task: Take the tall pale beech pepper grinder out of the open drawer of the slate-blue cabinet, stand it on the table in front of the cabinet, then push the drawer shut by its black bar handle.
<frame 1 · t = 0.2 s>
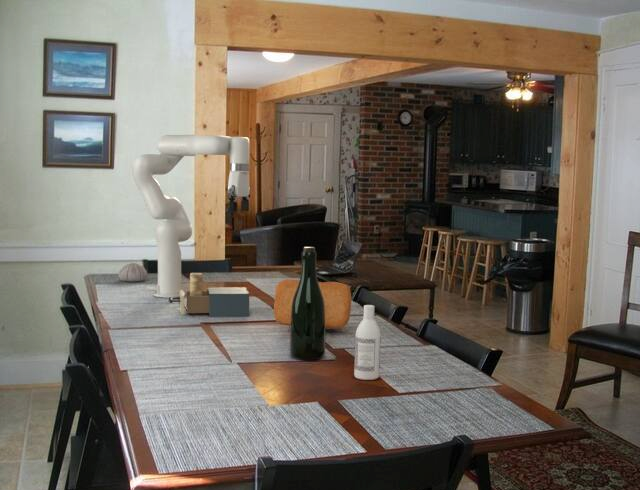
hand: (239, 211, 320), 37 cm above the table, tool pointing down, fingers open, 9 cm apart
bread: (311, 302, 270), point 11 cm above the table
green wine bottle: (307, 357, 240), on the table
grinder: (196, 307, 301), point 2 cm above the table, touching drawer
cabinet: (227, 312, 304), on the table
drawer: (193, 301, 300), point 4 cm above the table, slide at 9.0 cm, touching grinder
sea urchin shell: (132, 280, 373), on the table
bath foam: (366, 378, 220), on the table
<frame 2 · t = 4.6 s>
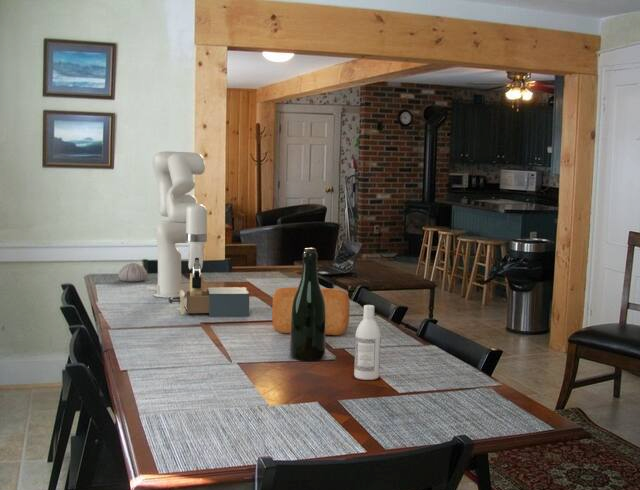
hand: (196, 286, 300), 10 cm above the table, tool pointing down, fingers closed on grinder, 4 cm apart
bread: (309, 312, 268), point 8 cm above the table
grinder: (196, 307, 301), point 2 cm above the table, touching drawer, gripper
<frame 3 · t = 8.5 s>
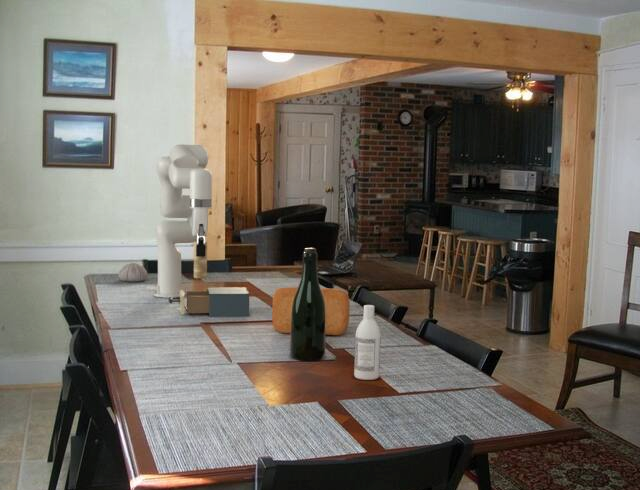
hand: (200, 254, 285), 24 cm above the table, tool pointing down, fingers closed on grinder, 4 cm apart
grinder: (200, 277, 286), point 16 cm above the table, touching gripper
drawer: (193, 301, 300), point 4 cm above the table, slide at 9.0 cm
everything else where it was.
when the fingers open (8 cm above the table, at t = 12.2 s): grinder stays where it is, on the table.
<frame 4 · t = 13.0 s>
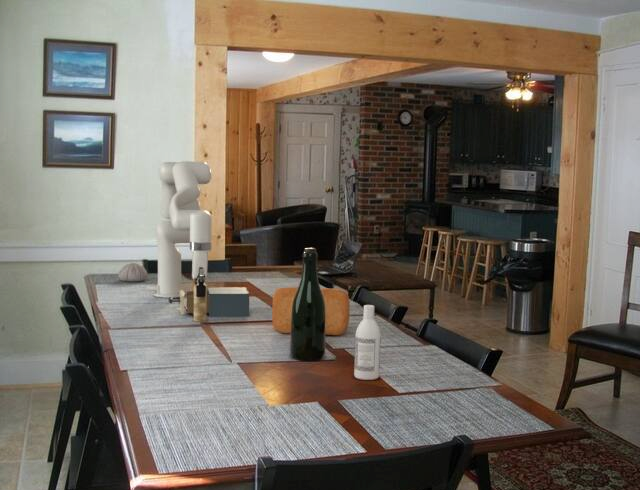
hand: (200, 294, 287), 10 cm above the table, tool pointing down, fingers open, 9 cm apart
grinder: (200, 320, 288), on the table
everything else where it was.
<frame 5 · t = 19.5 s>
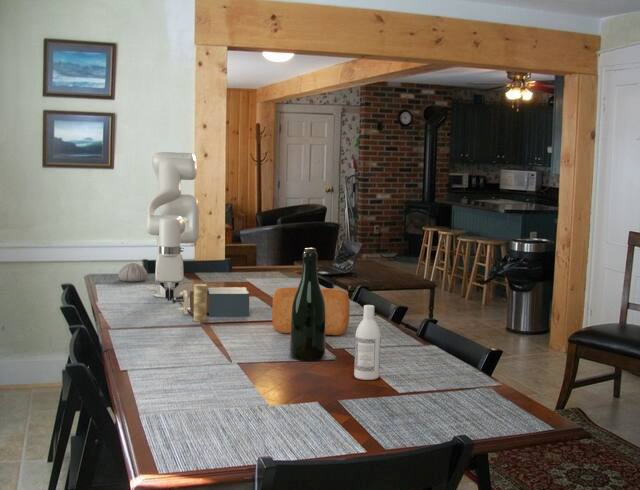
hand: (169, 299, 298), 5 cm above the table, tool pointing down, fingers closed
drawer: (196, 301, 301), point 4 cm above the table, slide at 7.8 cm, touching gripper
everything else where it was.
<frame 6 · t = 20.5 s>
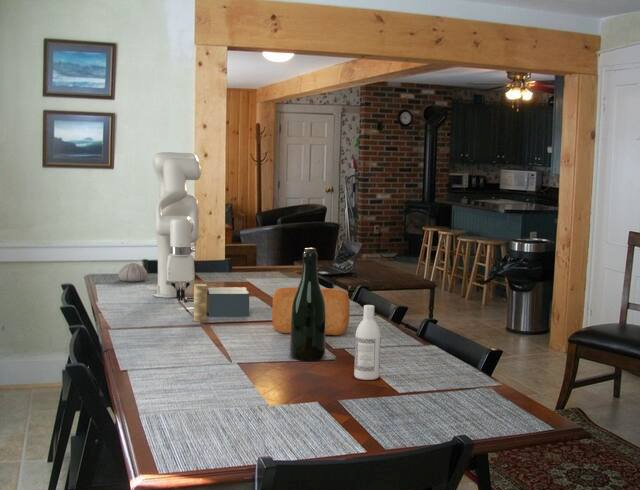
hand: (180, 300, 299), 5 cm above the table, tool pointing down, fingers closed
drawer: (207, 301, 302), point 4 cm above the table, slide at 3.7 cm, touching gripper
everything else where it was.
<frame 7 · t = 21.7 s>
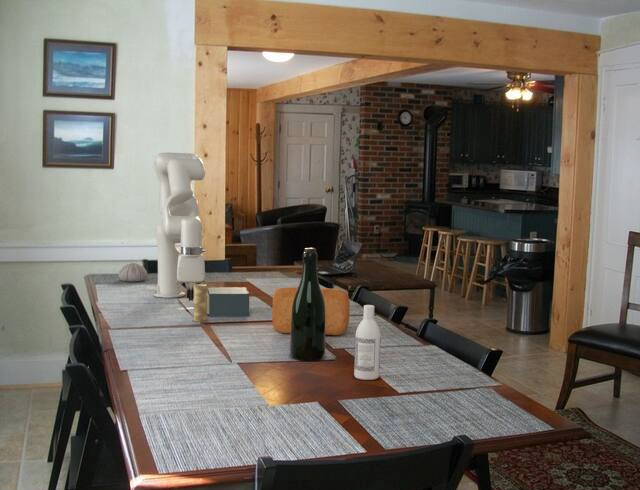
hand: (190, 300, 300), 5 cm above the table, tool pointing down, fingers closed
drawer: (217, 301, 303), point 4 cm above the table, slide at 0.0 cm, touching cabinet, gripper
everything else where it was.
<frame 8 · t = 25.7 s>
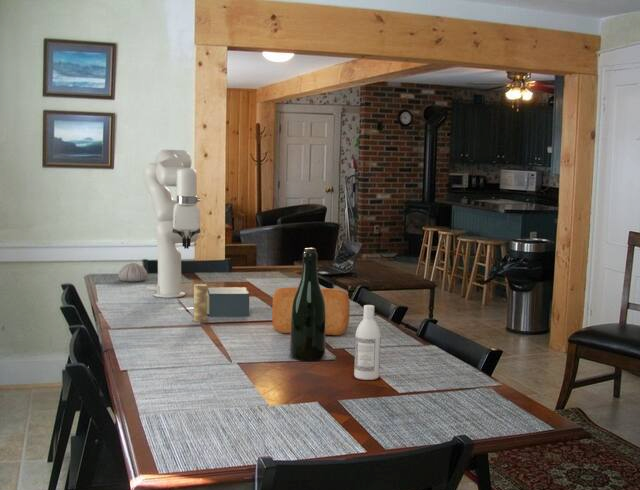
hand: (186, 248, 310), 23 cm above the table, tool pointing down, fingers closed
drawer: (217, 301, 303), point 4 cm above the table, slide at 0.0 cm, touching cabinet
everything else where it was.
at the end: grinder inside the target area (0.0 cm from its centre), on the table; grinder tilted 0°; drawer slide at 0.0 cm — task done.
